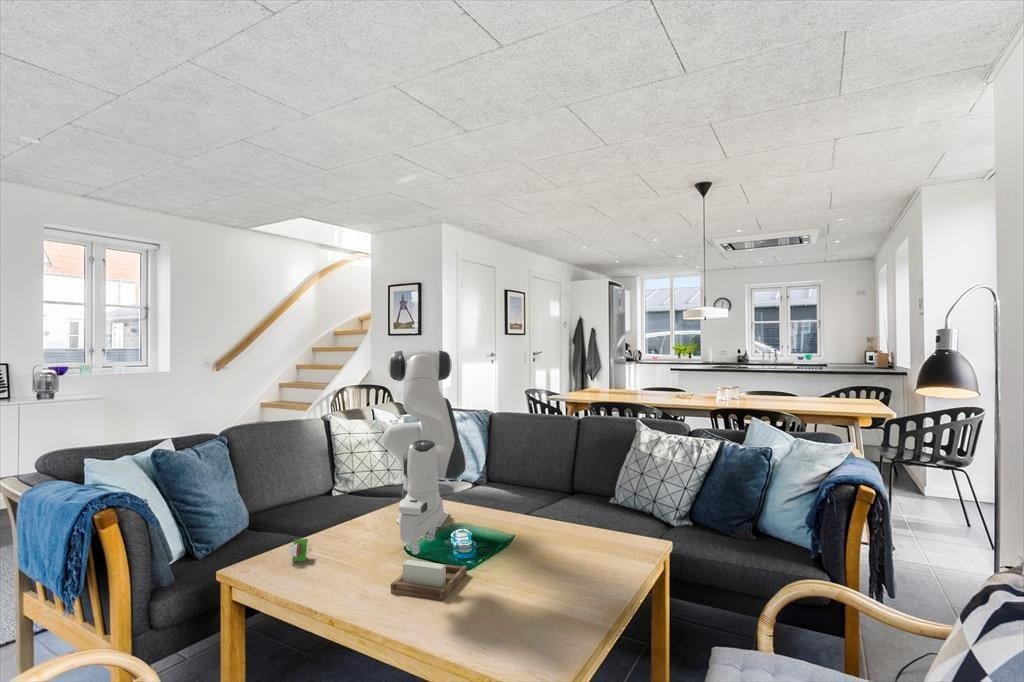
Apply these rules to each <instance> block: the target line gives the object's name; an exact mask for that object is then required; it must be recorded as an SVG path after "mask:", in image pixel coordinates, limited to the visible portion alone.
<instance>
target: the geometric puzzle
mask: <svg viewBox="0 0 1024 682" xmlns="http://www.w3.org/2000/svg"><path fill="white" fill-rule="evenodd" d="M309 545H311V543H310V542H309V540H308V538H301V539H300V538H299V539H293V542H292V545H290V546H289V548H288V550H287V553H289V556H292V558H291V560H292V562H303V561H305V562H306V561H307V558H308V557H309V552H310V553H311V551H312V550H313V548H311V547H310V546H309ZM307 547H308V548H307Z"/></svg>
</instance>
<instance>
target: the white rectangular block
mask: <svg viewBox="0 0 1024 682" xmlns="http://www.w3.org/2000/svg"><path fill="white" fill-rule="evenodd" d="M446 565H447V564H446ZM446 565H444V564H442V563H438V564H437V562H430V563H429V561H418V560H414V559H413V560H412V559H407V560H405V562H403V563H402V574H403V582H407V583H414V584H421V585H428V586H435V587H442V588H443V587H444V586H445V585H446Z"/></svg>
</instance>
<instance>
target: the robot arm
mask: <svg viewBox="0 0 1024 682" xmlns="http://www.w3.org/2000/svg"><path fill="white" fill-rule="evenodd" d="M452 369H453V363H452V359H451V356H450V354H449V353H448V352H447V351H444V350H438V351H437V350H431V349H419V350H418V349H417V350H405V351H404V350H398V351H394V352H392V353H391V354H390V357H389V358H388V362H387V371H388V373H389V377H390V378H391V379H393V380H394V381H399V382H402V381H403V392H402V393H403V404H402V405H403V407H402V408H403V410H404V412H405V413H406V414H407V415H409V416H411V417H413V418H416V419H418V421H415V422H414V421H413V422H400V423H395V424H392V425H388V426H387V427H386V428H385V430H384V431H383V435H382V443H383V446H384V447H385V449H386V451H388V452H390V453H391V454H392V455H393V456H395V458H397V460H398V462H399V464H400V465H401V471H402V479H403V481H402V482H403V487H402V490H401V494H402V495H401V497H402V499H401V500H400V502H399V507H398V518H396V519H395V523H397V524H398V525H399V533H400V540H401V541H402V543H406V544H410V547H411V553H412V555H418V554H419V553H420V552H421V545H419V542H420V540H419V539H421V537H423V536H424V535H425V534H426V537H427V538H426V540H427V541H428V542H429V541H430V542H432V541H434V540H435V539H436V531H437V528H440V527H442V526H443V525H444V523H445V521H446V520H447V518H448V517H449V515H450V512H449V511H447V510H445V509H444V502H443V498H442V496H441V493H440V488H439V485H440V484H439V481H438V479H447V480H449V479H450V480H456V479H458V478H460V477H461V476H462V475H463V474H464V473H465V471H466V469H467V468H466V467H467V456H466V454H465V452H464V448H463V445H462V443H461V439H460V436H459V434H460V433H459V430H458V427H457V423H456V419H455V415H454V411H453V408H452V407H453V406H452V404H451V402H450V400H449V399H448V398H446V397H444V395H443V394H442V392H441V390H440V388H439V382H440V381H443V380H446V379H448V378H449V377H450V374H451V372H452Z"/></svg>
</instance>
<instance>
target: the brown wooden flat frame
mask: <svg viewBox="0 0 1024 682" xmlns="http://www.w3.org/2000/svg"><path fill="white" fill-rule="evenodd" d="M417 561H422V560H421V559H418V560H417ZM422 562H423V561H422ZM428 562H429V561H428ZM429 563H431V562H429ZM436 563H437V562H436ZM437 564H439V563H437ZM444 565H446V585H445V586H444V587H443V588H442V587H435V586H428V585H421V584H414V583H407V582H403V573H402V574H401V575H399V576H398V577H397V578H396V579H395V580H394V581H393V582H391V583H390V594H396V595H402V596H407V597H414V598H415V597H416V598H420V599H421V598H422V599H429V600H434V601H440V602H441V601H442V602H444V600H446V598H447V597H448V596H449V595H450V594H451V593H452V591H453V590H454V589H456V587H457V586H458V584H459V583H460V582H461V581H462V580H463V579H464V578H465V577H466V575H467V569H468V568H467V565H461V566H459V565H452V564H444Z"/></svg>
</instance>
